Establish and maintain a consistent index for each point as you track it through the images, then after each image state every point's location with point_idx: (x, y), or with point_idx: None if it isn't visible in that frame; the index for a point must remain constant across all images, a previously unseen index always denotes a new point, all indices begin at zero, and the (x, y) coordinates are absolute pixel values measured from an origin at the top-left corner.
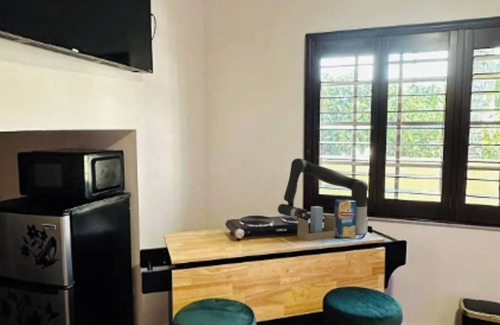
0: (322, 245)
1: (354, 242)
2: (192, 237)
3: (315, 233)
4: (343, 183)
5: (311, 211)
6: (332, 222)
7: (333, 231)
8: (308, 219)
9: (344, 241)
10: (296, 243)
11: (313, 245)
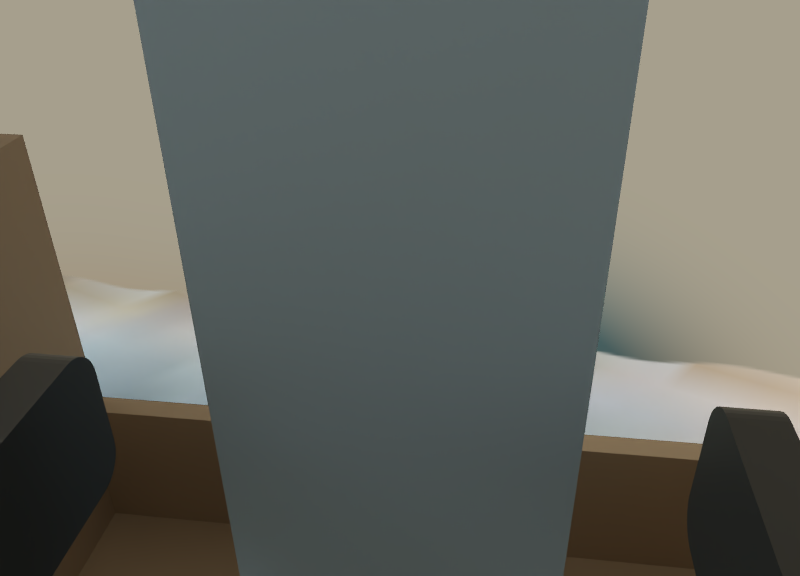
0: (616, 364)
1: (128, 301)
2: None
3: (600, 443)
4: None
5: (633, 42)
6: (11, 282)
7: (115, 406)
8: (702, 460)
9: (180, 359)
10: None
11: (756, 406)
